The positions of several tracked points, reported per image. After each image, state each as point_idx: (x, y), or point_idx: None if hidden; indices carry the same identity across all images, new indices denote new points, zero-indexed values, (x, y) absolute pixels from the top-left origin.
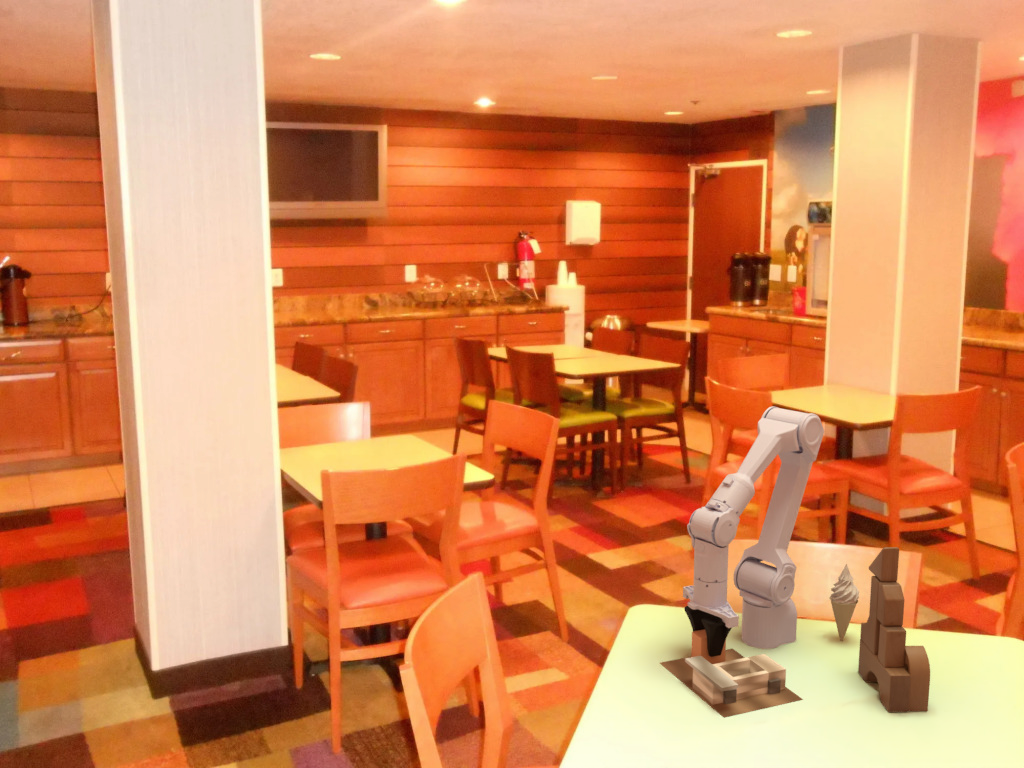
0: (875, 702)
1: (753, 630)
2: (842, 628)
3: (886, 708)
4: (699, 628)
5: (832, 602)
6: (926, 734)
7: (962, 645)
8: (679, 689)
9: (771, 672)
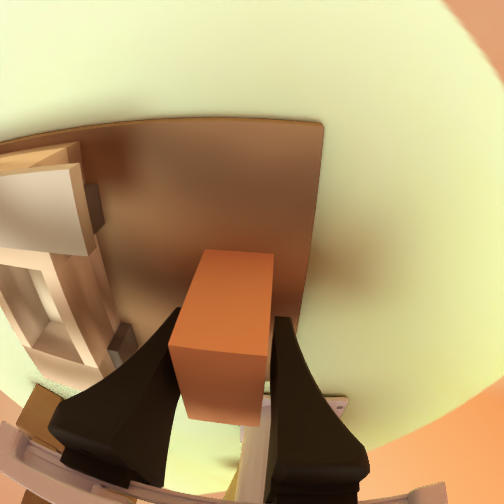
0: (58, 392)
1: (267, 446)
2: (232, 482)
3: (41, 387)
4: (276, 391)
5: None
6: (2, 369)
7: (185, 485)
8: (128, 105)
9: (26, 350)
